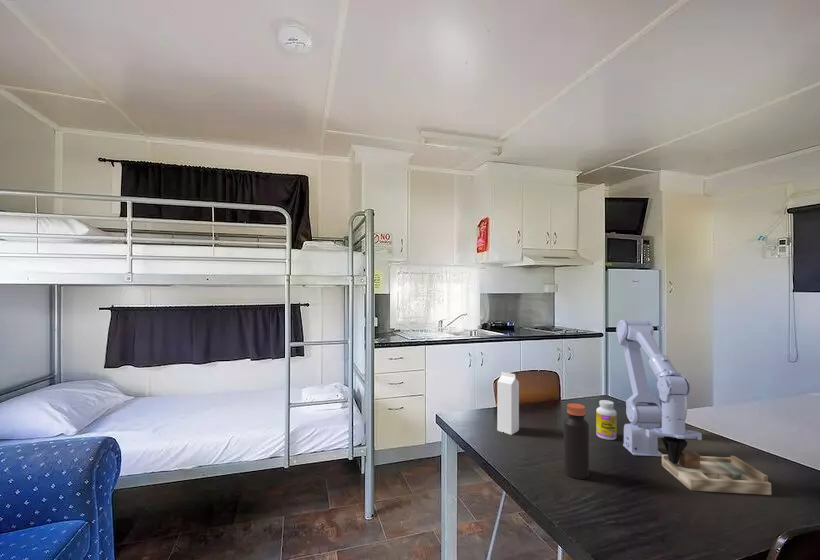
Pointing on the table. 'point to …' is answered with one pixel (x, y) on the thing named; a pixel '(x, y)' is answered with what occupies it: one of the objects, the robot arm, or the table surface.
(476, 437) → the table surface
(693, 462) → the walnut block
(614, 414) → the supplement bottle
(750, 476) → the tray
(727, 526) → the table surface
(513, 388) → the milk
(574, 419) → the vinegar
